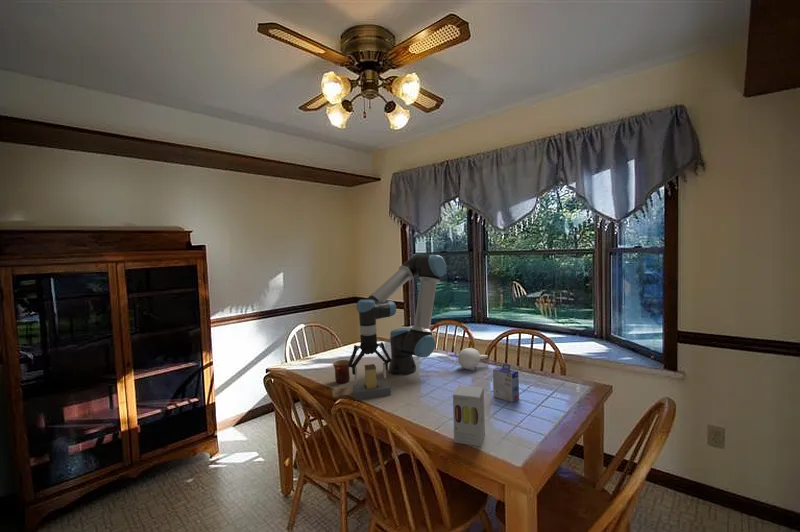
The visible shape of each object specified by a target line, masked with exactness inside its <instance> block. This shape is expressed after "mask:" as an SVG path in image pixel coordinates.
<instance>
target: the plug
mask: <svg viewBox="0 0 800 532" xmlns="http://www.w3.org/2000/svg"><path fill="white" fill-rule="evenodd" d="M364 380H365V383H366V389H373V388H377V366H376V365H375V364H374V363H371V364H364Z"/></svg>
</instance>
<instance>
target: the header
mask: <svg viewBox="0 0 800 532" xmlns="http://www.w3.org/2000/svg"><path fill="white" fill-rule="evenodd" d="M376 381H377V380H376ZM391 392H392V391H391V386H390V385H389V383H388V381H387V380H386V379H385V380H378V381H377V388H373V389H366V383H363V382H362V383H357V384H352V395H353V396H354V399H355V401H362V400H368V399H369V400H370V399H375V398H376V399H377V398H381V397H389V396H391V394H392V393H391Z"/></svg>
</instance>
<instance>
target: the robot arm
mask: <svg viewBox="0 0 800 532" xmlns="http://www.w3.org/2000/svg"><path fill="white" fill-rule="evenodd" d="M446 272H447V263H446V261H445V258H443V256H441V255H439V254H432V253H431V254H418V255H415V256H412V257H410V258H409V259H408V260H406V261H405V262H404V263H403V264H401V265H400V266H399V267H398V270H397V271H395V273H393V275H392V276H390V277H389V278H388V280H387V279H386V281H385V282H384V283H382V284H381V286H379V287H378V288H377V289H376V290H375V291H373V292H372V293H371V294H370V295H369V296H367V298H364V299H363V298H362V299H360V300H358V301H357V303H356V306H355V307H356V312H358V318H359V320H358V321H359V333H360V335H359V336H360V337H359V338H360V345H356V344H355V345H353V350H352V352H351V355H350V358H349V363H348V367H349V368H351V370H352V371H351V373H352V375H353V376H354V382H355V383H358V370H357V369H358V368H357V365H358V364H359V362H360V361H361V359H362V358H363V357H364V356H365V355H373V354H376V355H377V356H378V357H379V358H380V359H381V360H382V362H383V363H382V368H383V369H382V373H383V375H382V376H383V378H384V379H387V371H388V373H390V374H393V375H395V376H396V375H399V376H401V375H402V376H404V375H411V374H414V373H415V372H416V371H417V365H416V362H415V359H414V356H415V357H417V358H428V357H429V356H430V355H432V354H433V352H434V350H435V349H436V340H435V337H434V336H433V331H432V330H431V323H432V317H433V309H434V303H435V296H436V290H437V284H438V283H439V282H441V277H444V275H445V274H446ZM416 277H418V279H419V281H420V285H419V290H418V297H417V304H416V308H415V309H416V310H415V317H414V323H413V326H411V328H410V327H402V328H401V327H400V328H395V329H393V330H391V331H390V332H389V333H390V334H389V336H390V337H389V340H390V355H391V357H390V355H389V353H388V351H387V350H386V348H385V344H384V342H382V341H381V342H380V343H378V336H377V320H379V319H384V318H391V317H393V316H394V315H396V313H397V305H396V303H395V301H393V300H388V299H389V298H390V297H392V296H393V295H394V294H395V293H396V292H397V291H398V290H399V289H401V287H402V286H403V285H405V284H406V283H407V282H408V281H411V280H413V279H414V278H416ZM378 347H379V348H380V349H381V350H382V352H383V353H384V355H385V357H386V358H385V357H384V356H383V355H382V354H381V353H380V352H379V350H378ZM359 349H360V350H361V351H360V352H359V354H358V356H357V357H356V354H357V353H358V352H357V351H359ZM355 357H356V358H355Z"/></svg>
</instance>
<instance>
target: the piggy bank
mask: <svg viewBox="0 0 800 532" xmlns="http://www.w3.org/2000/svg"><path fill="white" fill-rule="evenodd" d="M488 358H489V355H488V354H480V352H479V350H477V349H476V348H473V347H466V348H464V349H461V350H460V351H459V353H458V355H457V361H458V364H459V365H460V366H461V367H462V368H463V369H466V370H472V371H473V370H474V371H475V370H476V367H477V366H479V364H480V362H481V359H482V360H483V359H484V360H485V359H488Z"/></svg>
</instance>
